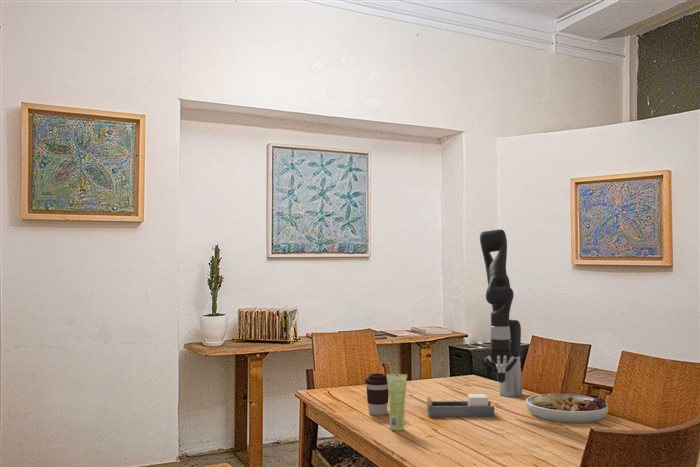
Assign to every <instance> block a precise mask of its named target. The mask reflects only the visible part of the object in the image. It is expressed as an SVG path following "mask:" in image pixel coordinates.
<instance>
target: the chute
mask: <svg viewBox="0 0 700 467" xmlns="http://www.w3.org/2000/svg"><path fill="white" fill-rule="evenodd" d="M426 412H427V416H428V418H496V417H495V406H494V405H492V403H491V401H490V400H488V406H468V400H466V401H465V400H461V401H460V400H458V401H457V400H456V401H455V400H454V401H453V400H452V401H451V400H445V401H443V400H440V401H439V400H438V401H437V400H434V401H433V399H432V397H431V396H427V397H426Z"/></svg>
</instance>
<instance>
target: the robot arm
mask: <svg viewBox="0 0 700 467" xmlns="http://www.w3.org/2000/svg"><path fill="white" fill-rule="evenodd" d="M479 243H480V248H481V252H482V256H483V260H484V265H485V271H486V278H487V289H486V292H485V299H486V302H487V303H488V304H490V305H491V308H492V311H491V312H490V352H489V355H487V356H486V357H484V361H485V362H486V363H487V365H488V366H489V367H490V368H491V370H492V371H493V372H496V379H497V381H498V383H499V395H501V396H504V397H510V398H512V397H514V398H515V397H523V374H522V372H521V368H522V367H521V348H522V347H521V346H522V343H521V342H522V337H521V336H522V325H521V323H520V321H519V320H517V319H510V312H511V306H512V304H513V300H514V293H515V292H514V290H513V288H511V284H510V279H509V276H508V274H507V255H508V240H507V235H506V231H504V229H493V230H485V231H482V232H480V234H479ZM494 252H497V254H496V256H495V257H494V258H493V255H492V254H491V253H494ZM492 361H493V362H494V364H495V366H494V365H493V363H492Z"/></svg>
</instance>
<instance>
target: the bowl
mask: <svg viewBox="0 0 700 467" xmlns="http://www.w3.org/2000/svg"><path fill="white" fill-rule="evenodd" d="M525 405H526V408H527V410H528V411H529V412H530V413H531V414H532V415H533V416H535V417H538V418H539V419H543V420H546V421H547V420H548V421H552V422H556V423H557V422H558V423H567V424H568V423H569V424H585V423H586V424H587V423H588V424H589V423H593V422H597V421H600V420H602V419H603V418H605V417H606V416H607V414H608V412H609V404H608V403H607V401H606V400H605V399H604V398H601V397H592V396H591V397H590V396H586V395H579V394H568V393H553V392H551V393H549V392H548V393H543V394H541V393H540V394H534V395H531V396H528V397H527V398H526V399H525Z"/></svg>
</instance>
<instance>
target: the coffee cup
mask: <svg viewBox="0 0 700 467" xmlns="http://www.w3.org/2000/svg"><path fill="white" fill-rule="evenodd" d="M364 383H365V384H366V399H367V405H368V413H369V414H370V415H374V416H383V415H386V414H387V413H388V405H389V393H388V383H387V377H386V374H385V373H379V372H378V373H370V374H368V376H367V377H366V378H364Z"/></svg>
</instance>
